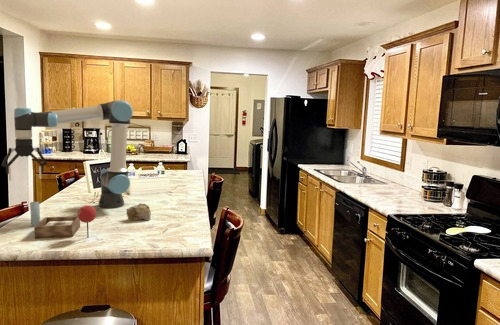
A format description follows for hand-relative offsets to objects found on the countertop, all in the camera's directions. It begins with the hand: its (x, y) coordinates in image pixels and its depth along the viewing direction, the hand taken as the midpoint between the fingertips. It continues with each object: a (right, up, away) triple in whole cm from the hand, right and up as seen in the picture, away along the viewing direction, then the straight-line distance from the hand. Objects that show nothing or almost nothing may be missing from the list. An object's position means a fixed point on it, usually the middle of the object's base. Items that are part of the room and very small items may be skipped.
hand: (25, 179), depth 198 cm
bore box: (+25, -25, -15) cm, 38 cm away
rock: (+56, -23, +11) cm, 61 cm away
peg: (+8, -23, -5) cm, 25 cm away
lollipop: (+41, -26, -21) cm, 53 cm away
